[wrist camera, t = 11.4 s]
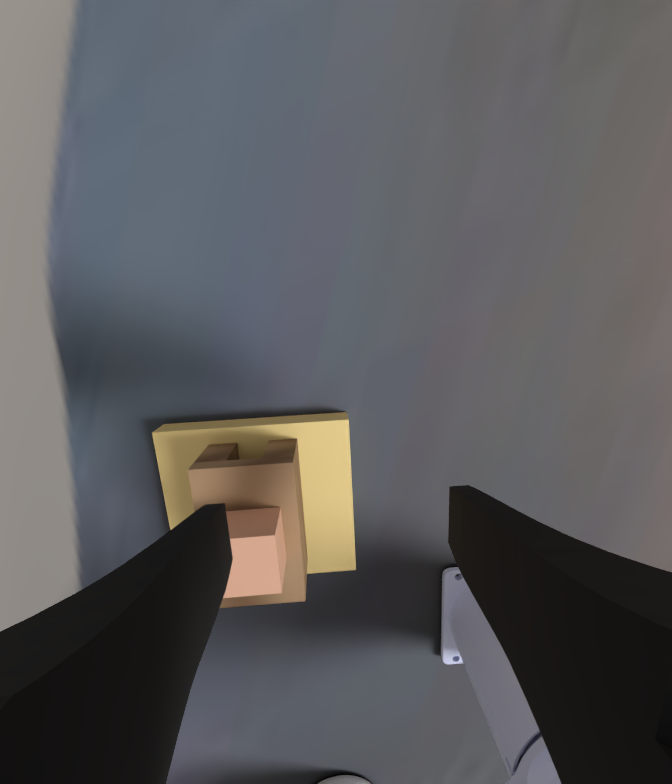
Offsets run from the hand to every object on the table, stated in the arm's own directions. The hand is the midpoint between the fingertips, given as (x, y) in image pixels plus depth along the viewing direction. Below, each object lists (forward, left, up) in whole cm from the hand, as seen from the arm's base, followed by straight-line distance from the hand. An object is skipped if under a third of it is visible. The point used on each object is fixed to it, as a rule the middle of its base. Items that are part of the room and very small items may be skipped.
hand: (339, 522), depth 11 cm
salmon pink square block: (+4, +4, -6) cm, 8 cm away
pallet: (+5, +4, -9) cm, 11 cm away
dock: (+5, +5, -10) cm, 12 cm away
